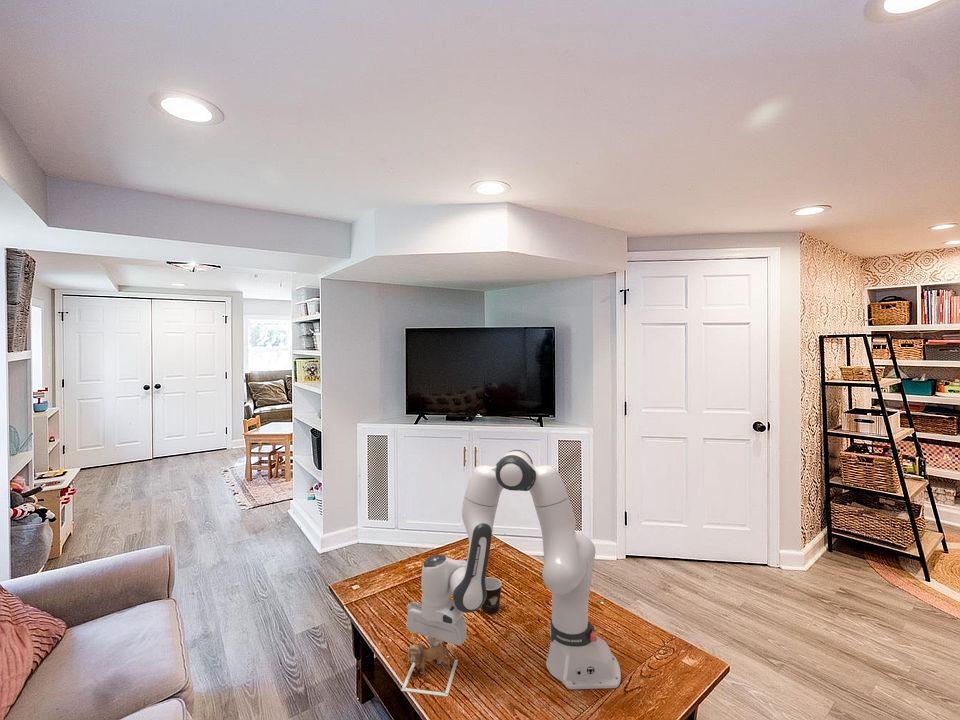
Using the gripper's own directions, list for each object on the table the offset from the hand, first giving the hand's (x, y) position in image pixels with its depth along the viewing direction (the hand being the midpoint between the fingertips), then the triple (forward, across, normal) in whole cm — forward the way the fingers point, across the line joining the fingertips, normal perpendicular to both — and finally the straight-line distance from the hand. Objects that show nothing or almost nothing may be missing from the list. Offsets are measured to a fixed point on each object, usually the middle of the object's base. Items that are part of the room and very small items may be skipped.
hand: (436, 649), depth 144 cm
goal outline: (+4, +1, -6) cm, 7 cm away
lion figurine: (+4, 0, -4) cm, 6 cm away
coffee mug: (+4, +5, +31) cm, 32 cm away
